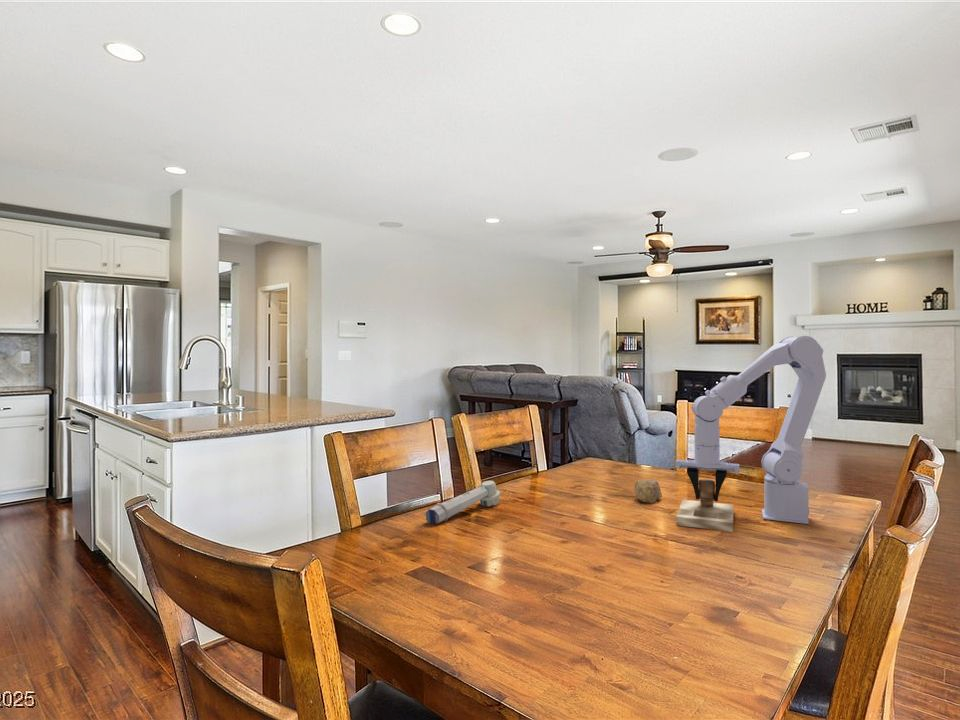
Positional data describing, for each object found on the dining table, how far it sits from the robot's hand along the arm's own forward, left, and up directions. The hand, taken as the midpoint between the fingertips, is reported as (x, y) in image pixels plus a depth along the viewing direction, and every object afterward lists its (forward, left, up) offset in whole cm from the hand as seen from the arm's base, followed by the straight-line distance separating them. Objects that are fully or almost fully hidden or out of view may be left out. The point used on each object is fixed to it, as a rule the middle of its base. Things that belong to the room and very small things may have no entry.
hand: (706, 499), depth 138 cm
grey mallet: (+56, +23, -4) cm, 60 cm away
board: (0, +4, -4) cm, 5 cm away
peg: (0, 0, -1) cm, 1 cm away
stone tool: (+15, -9, -4) cm, 18 cm away
